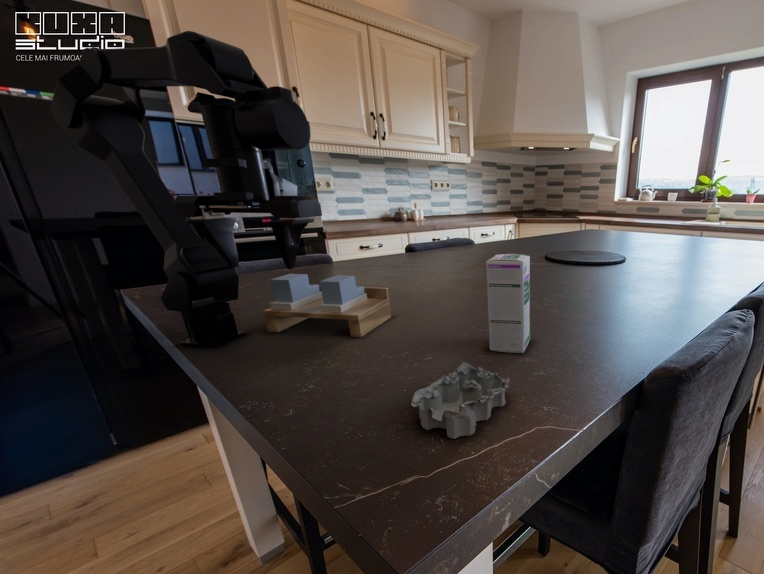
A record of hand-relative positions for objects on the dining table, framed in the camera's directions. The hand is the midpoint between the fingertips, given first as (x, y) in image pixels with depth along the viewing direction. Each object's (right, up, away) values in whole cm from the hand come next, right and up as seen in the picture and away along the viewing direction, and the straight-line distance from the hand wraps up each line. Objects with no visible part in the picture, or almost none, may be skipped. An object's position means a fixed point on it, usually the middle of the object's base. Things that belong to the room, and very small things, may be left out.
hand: (262, 268), depth 59 cm
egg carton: (+31, -19, -13) cm, 39 cm away
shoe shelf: (+3, -8, +16) cm, 18 cm away
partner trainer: (-3, -4, +16) cm, 16 cm away
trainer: (+6, -5, +13) cm, 15 cm away
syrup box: (+37, -12, +6) cm, 39 cm away
